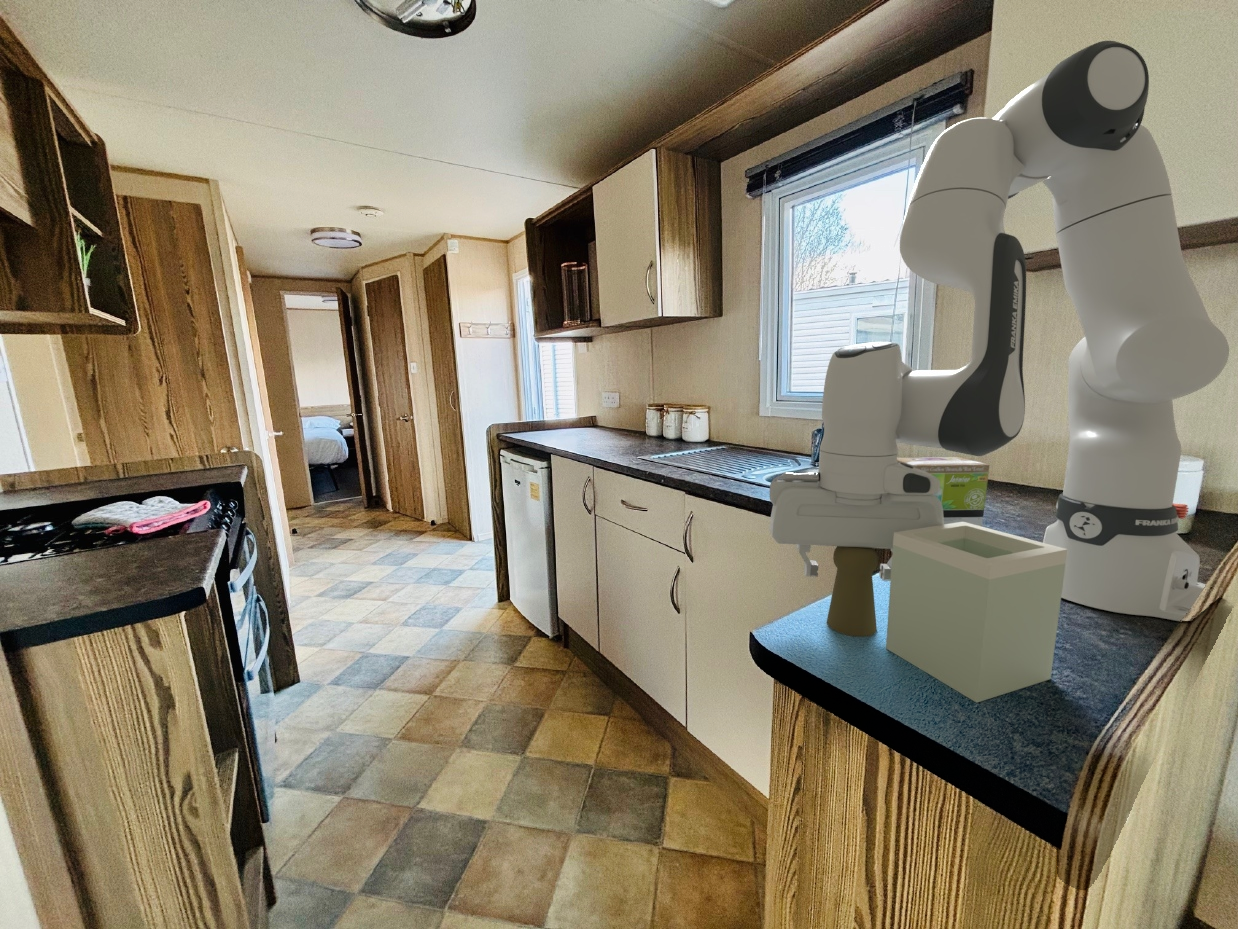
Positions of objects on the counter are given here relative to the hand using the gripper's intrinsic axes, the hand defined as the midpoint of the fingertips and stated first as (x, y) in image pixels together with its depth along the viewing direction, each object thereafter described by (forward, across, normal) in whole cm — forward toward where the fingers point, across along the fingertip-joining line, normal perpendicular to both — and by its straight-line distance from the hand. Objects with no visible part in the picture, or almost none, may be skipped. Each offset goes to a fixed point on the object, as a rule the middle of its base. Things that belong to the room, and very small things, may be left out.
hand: (848, 577), depth 65 cm
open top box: (+6, +11, -8) cm, 15 cm away
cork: (+7, +1, -1) cm, 7 cm away
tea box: (+6, +28, +46) cm, 54 cm away
